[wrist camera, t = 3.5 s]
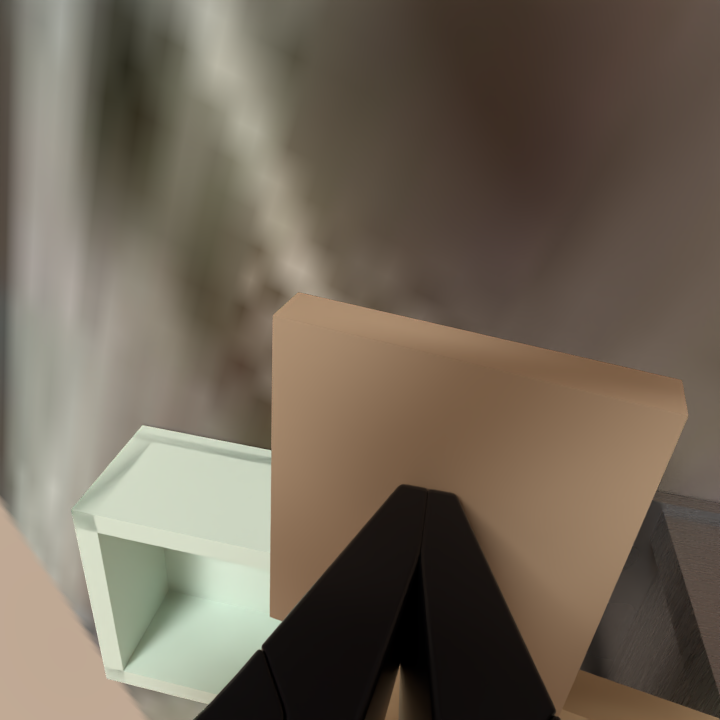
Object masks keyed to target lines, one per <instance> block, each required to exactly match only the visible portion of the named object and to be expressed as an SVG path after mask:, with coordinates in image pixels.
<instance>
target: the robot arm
mask: <svg viewBox="0 0 720 720" xmlns="http://www.w3.org/2000/svg"><path fill="white" fill-rule="evenodd" d="M399 667H400V684H399V719H398V720H561V719H560V717H558V716H555V715H556V709H555V706H554V704H553V702H552V700H551V698H550V696H549V693H548V691H547V689H546V687H545V685H544V683H543V680H542V678H541V676H540V674H539V672H538V670H537V667H536V665H535V663H534V661H533V659H532V657H531V654H530V652H529V650H528V648H527V646H526V644H525V642H524V639H523V637H522V635H521V633H520V631H519V629H518V626H517V624H516V622H515V620H514V618H513V616H512V613H511V611H510V609H509V607H508V605H507V603H506V600H505V598H504V596H503V594H502V592H501V590H500V587H499V585H498V583H497V581H496V579H495V577H494V575H493V572H492V570H491V568H490V566H489V564H488V562H487V559H486V557H485V555H484V553H483V551H482V549H481V546H480V544H479V542H478V540H477V538H476V536H475V533H474V531H473V529H472V527H471V525H470V523H469V520H468V518H467V516H466V514H465V512H464V510H463V508H462V505H461V503H460V501H459V499H458V497H457V496H456V495H455V494H454V493H451V492H446V491H440V490H435V489H429V490H428V489H427V488H424V487H419V486H414V485H408V484H401V485H399V486H398V487H397V488H396V489H395V490H394V491H393V493H392V494H391V495H390V496H389V497H388V498H387V500H386V501H385V502H384V503H383V504H382V505H381V507H380V508H379V509H378V510H377V511H376V512H375V514H374V515H373V516H372V517H371V518H370V519H369V521H368V522H367V523H366V524H365V525H364V526H363V528H362V529H361V530H360V531H359V532H358V533H357V535H356V536H355V537H354V538H353V539H352V540H351V542H350V543H349V544H348V545H347V546H346V547H345V549H344V550H343V551H342V552H341V553H340V554H339V556H338V557H337V558H336V559H335V560H334V561H333V563H332V564H331V565H330V566H329V567H328V568H327V570H326V571H325V572H324V573H323V574H322V575H321V577H320V578H319V579H318V580H317V581H316V582H315V584H314V585H313V586H312V587H311V588H310V589H309V591H308V592H307V593H306V594H305V595H304V596H303V598H302V599H301V600H300V601H299V602H298V603H297V605H296V606H295V607H294V608H293V609H292V610H291V612H290V613H289V614H288V615H287V616H286V617H285V619H284V620H283V621H282V622H281V623H280V624H279V626H278V627H277V628H276V629H275V630H274V631H273V633H272V634H271V635H270V636H269V637H268V638H267V640H266V641H265V642H264V643H263V644H262V647H261V650H260V649H259V650H257V651H256V652H255V653H254V654H253V655H252V657H251V658H250V659H249V660H248V661H247V662H246V664H245V665H244V666H243V667H242V668H241V669H240V671H239V672H238V673H237V674H236V675H235V676H234V677H233V678H232V679H231V681H230V682H229V683H228V684H227V685H226V686H225V687H224V688H223V689H222V690H221V691H220V693H219V694H218V695H217V696H216V697H215V698H214V699H213V700H212V701H211V702H210V703H209V705H208V706H207V707H206V708H205V709H204V710H203V711H202V712H201V713H200V714H199V715H198V716H197V717H196V718H194V719H193V720H385V717H386V713H387V710H388V706H389V703H390V699H391V695H392V692H393V688H394V685H395V681H396V677H397V674H398V670H399Z"/></svg>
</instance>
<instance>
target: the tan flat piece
mask: <svg viewBox="0 0 720 720" xmlns="http://www.w3.org/2000/svg"><path fill="white" fill-rule="evenodd" d="M687 418H688V411H687V405H686V400H685V394H684V389H683V383H682V380H679V379H675V378H670V377H666V376H662V375H657V374H653V373H649V372H644V371H640V370H635V369H631V368H627V367H622V366H618V365H614V364H609V363H605V362H601V361H596V360H592V359H587V358H583V357H579V356H574V355H570V354H566V353H561V352H557V351H553V350H548V349H544V348H540V347H535V346H531V345H526V344H522V343H518V342H513V341H509V340H505V339H500V338H496V337H492V336H487V335H483V334H478V333H474V332H470V331H465V330H461V329H457V328H452V327H448V326H444V325H439V324H435V323H430V322H426V321H422V320H417V319H413V318H409V317H404V316H400V315H396V314H391V313H387V312H382V311H378V310H374V309H369V308H365V307H361V306H356V305H352V304H348V303H343V302H339V301H335V300H330V299H326V298H321V297H317V296H313V295H308V294H304V293H300V292H298V293H297V294H296V295H295V296H294V297H293V298H292V299H290V300H289V301H288V302H287V303H286V304H285V305H284V306H283V307H282V308H280V309H279V310H278V311H277V312H276V313H275V314H274V315H273V343H272V436H271V530H270V617H272V618H274V619H277V620H280V621H283V620H284V619H285V617H286V616H287V615H288V614H289V613H290V612H291V610H292V609H293V608H294V607H295V606H296V605H297V603H298V602H299V601H300V600H301V599H302V598H303V596H304V595H305V594H306V593H307V592H308V591H309V589H310V588H311V587H312V586H313V585H314V584H315V582H316V581H317V580H318V579H319V578H320V577H321V575H322V574H323V573H324V572H325V571H326V570H327V568H328V567H329V566H330V565H331V564H332V563H333V561H334V560H335V559H336V558H337V557H338V556H339V554H340V553H341V552H342V551H343V550H344V549H345V547H346V546H347V545H348V544H349V543H350V542H351V540H352V539H353V538H354V537H355V536H356V535H357V533H358V532H359V531H360V530H361V529H362V528H363V526H364V525H365V524H366V523H367V522H368V521H369V519H370V518H371V517H372V516H373V515H374V514H375V512H376V511H377V510H378V509H379V508H380V507H381V505H382V504H383V503H384V502H385V501H386V500H387V498H388V497H389V496H390V495H391V494H392V493H393V491H394V490H395V489H396V488H397V487H398V486H399V485H401V484H408V485H414V486H419V487H424V488H427V489H428V490H429V489H435V490H440V491H446V492H451V493H454V494H455V495H456V496H457V497H458V499H459V501H460V503H461V505H462V508H463V510H464V512H465V514H466V516H467V518H468V520H469V523H470V525H471V527H472V529H473V531H474V533H475V536H476V538H477V540H478V542H479V544H480V546H481V549H482V551H483V553H484V555H485V557H486V559H487V562H488V564H489V566H490V568H491V570H492V572H493V575H494V577H495V579H496V581H497V583H498V585H499V587H500V590H501V592H502V594H503V596H504V598H505V600H506V603H507V605H508V607H509V609H510V611H511V613H512V616H513V618H514V620H515V622H516V624H517V626H518V629H519V631H520V633H521V635H522V637H523V639H524V642H525V644H526V646H527V648H528V650H529V652H530V654H531V657H532V659H533V661H534V663H535V665H536V667H537V670H538V672H539V674H540V676H541V678H542V680H543V683H544V685H545V687H546V689H547V691H548V693H549V696H550V698H551V700H552V702H553V704H554V706H555V709H556V715H555V716H558V717H560V719H561V720H720V718H717V717H714V716H711V715H708V714H705V713H702V712H699V711H697V710H694V709H691V708H688V707H685V706H682V705H679V704H677V703H674V702H671V701H668V700H665V699H662V698H659V697H657V696H654V695H651V694H648V693H645V692H642V691H639V690H636V689H634V688H631V687H628V686H625V685H622V684H619V683H616V682H614V681H611V680H608V679H605V678H602V677H599V676H596V675H594V674H591V673H588V672H585V671H582V670H579V669H580V667H581V664H582V662H583V660H584V657H585V655H586V653H587V650H588V648H589V646H590V643H591V641H592V639H593V636H594V634H595V632H596V630H597V627H598V625H599V623H600V620H601V618H602V616H603V613H604V611H605V609H606V606H607V604H608V602H609V599H610V597H611V595H612V592H613V590H614V588H615V585H616V583H617V581H618V578H619V576H620V574H621V571H622V569H623V567H624V565H625V562H626V560H627V558H628V555H629V553H630V551H631V548H632V546H633V544H634V541H635V539H636V537H637V534H638V532H639V530H640V527H641V525H642V523H643V520H644V518H645V516H646V513H647V511H648V509H649V507H650V504H651V502H652V500H653V497H654V495H655V493H656V490H657V488H658V486H659V483H660V481H661V479H662V476H663V474H664V472H665V469H666V467H667V465H668V462H669V460H670V458H671V455H672V453H673V451H674V448H675V446H676V444H677V442H678V439H679V437H680V435H681V432H682V430H683V428H684V425H685V423H686V421H687ZM399 684H400V667H399V670H398V674H397V677H396V681H395V685H394V688H393V692H392V695H391V699H390V703H389V706H388V710H387V713H386V717H385V720H398V719H399Z"/></svg>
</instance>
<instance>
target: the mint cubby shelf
mask: <svg viewBox="0 0 720 720" xmlns="http://www.w3.org/2000/svg"><path fill="white" fill-rule="evenodd" d="M71 512H72V517H73V522H74V527H75V531H76V536H77V541H78V545H79V550H80V555H81V560H82V564H83V569H84V574H85V579H86V583H87V588H88V593H89V597H90V602H91V607H92V612H93V616H94V621H95V626H96V630H97V635H98V640H99V645H100V649H101V654H102V659H103V664H104V668H105V672H106V678H107V679H111V680H114V681H118V682H122V683H126V684H130V685H134V686H138V687H142V688H146V689H150V690H154V691H158V692H162V693H166V694H170V695H174V696H178V697H182V698H186V699H189V700H193V701H197V702H201V703H205V704H209V703H210V702H211V701H212V700H213V699H214V698H215V697H216V696H217V695H218V694H219V693H220V691H221V690H222V689H223V688H224V687H225V686H226V685H227V684H228V683H229V682H230V681H231V679H232V678H233V677H234V676H235V675H236V674H237V673H238V672H239V671H240V669H241V668H242V667H243V666H244V665H245V664H246V662H247V661H248V660H249V659H250V658H251V657H252V655H253V654H254V653H255V652H256V651H257V650H259V649H260V650H261V647H262V644H263V643H264V642H265V641H266V640H267V638H268V637H269V636H270V635H271V634H272V633H273V631H274V630H275V629H276V628H277V627H278V626H279V624H280V623H281V622H282V621H280V620H277V619H274V618H272V617H270V530H271V450H266V449H261V448H256V447H251V446H246V445H241V444H236V443H231V442H226V441H220V440H215V439H210V438H205V437H200V436H195V435H190V434H185V433H180V432H174V431H169V430H164V429H159V428H154V427H149V426H144V425H142V427H141V428H140V429H139V430H138V431H137V432H136V434H135V435H134V436H133V437H132V438H131V439H130V441H129V442H128V443H127V444H126V445H125V447H124V448H123V449H122V450H121V451H120V452H119V454H118V455H117V456H116V457H115V458H114V460H113V461H112V462H111V463H110V464H109V465H108V467H107V468H106V469H105V470H104V471H103V472H102V474H101V475H100V476H99V477H98V478H97V480H96V481H95V482H94V483H93V484H92V485H91V487H90V488H89V489H88V490H87V491H86V493H85V494H84V495H83V496H82V497H81V498H80V500H79V501H78V502H77V503H76V504H75V505H74V507H73V508H72V509H71Z"/></svg>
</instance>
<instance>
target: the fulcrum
mask: <svg viewBox="0 0 720 720" xmlns="http://www.w3.org/2000/svg"><path fill="white" fill-rule="evenodd" d="M579 670H582V671H585V672H588V673H591V674H594V675H596V676H599V677H602V678H605V679H608V680H611V681H614V682H616V683H619V684H622V685H625V686H628V687H631V688H634V689H636V690H639V691H642V692H645V693H648V694H651V695H654V696H657V697H659V698H662V699H665V700H668V701H671V702H674V703H677V704H679V705H682V706H685V707H688V708H691V709H694V710H697V711H699V712H702V713H705V714H708V715H711V716H714V717H717V718H720V503H716V502H710V501H705V500H700V499H694V498H689V497H684V496H678V495H673V494H668V493H663V492H657V491H656V493H655V495H654V497H653V500H652V502H651V504H650V507H649V509H648V511H647V513H646V516H645V518H644V520H643V523H642V525H641V527H640V530H639V532H638V534H637V537H636V539H635V541H634V544H633V546H632V548H631V551H630V553H629V555H628V558H627V560H626V562H625V565H624V567H623V569H622V571H621V574H620V576H619V578H618V581H617V583H616V585H615V588H614V590H613V592H612V595H611V597H610V599H609V602H608V604H607V606H606V609H605V611H604V613H603V616H602V618H601V620H600V623H599V625H598V627H597V630H596V632H595V634H594V636H593V639H592V641H591V643H590V646H589V648H588V650H587V653H586V655H585V657H584V660H583V662H582V664H581V667H580V669H579Z"/></svg>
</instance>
